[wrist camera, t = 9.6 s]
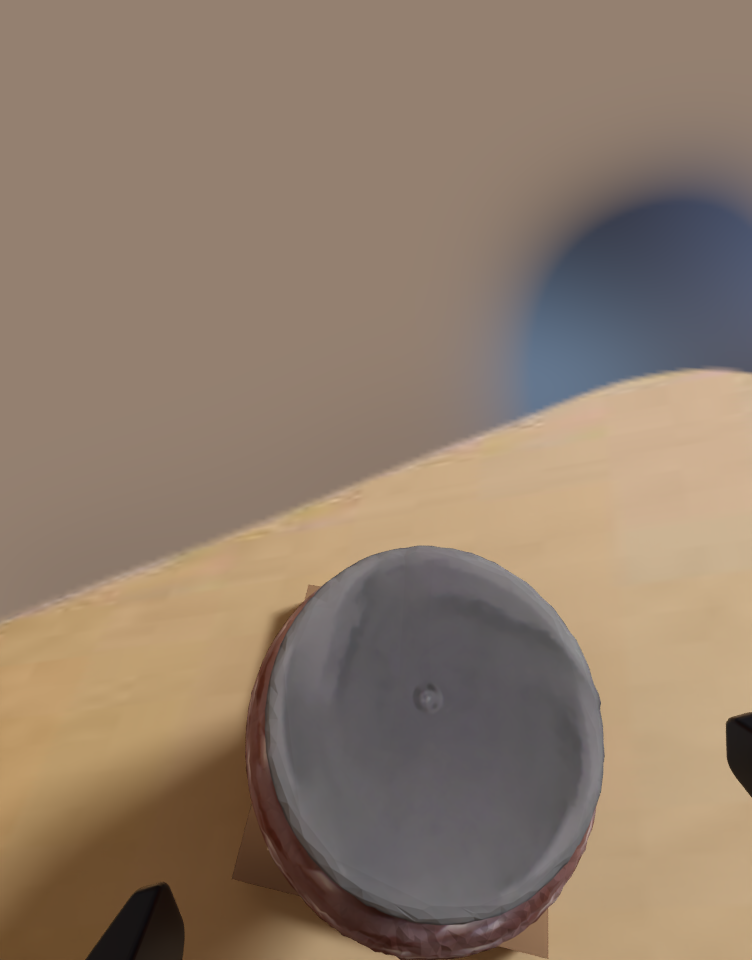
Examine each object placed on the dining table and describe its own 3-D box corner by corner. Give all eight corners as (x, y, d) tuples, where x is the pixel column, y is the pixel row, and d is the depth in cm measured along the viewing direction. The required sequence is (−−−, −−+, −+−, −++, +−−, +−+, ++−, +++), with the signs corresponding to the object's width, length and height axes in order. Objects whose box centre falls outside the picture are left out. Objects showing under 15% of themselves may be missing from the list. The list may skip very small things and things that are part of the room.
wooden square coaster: (533, 939, 14) (552, 964, 12) (246, 868, 15) (227, 881, 14) (536, 634, 19) (550, 621, 17) (314, 597, 20) (306, 581, 18)
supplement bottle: (309, 862, 14) (96, 1098, 4) (317, 648, 17) (207, 487, 7) (517, 856, 14) (817, 1084, 4) (486, 641, 17) (611, 469, 7)
